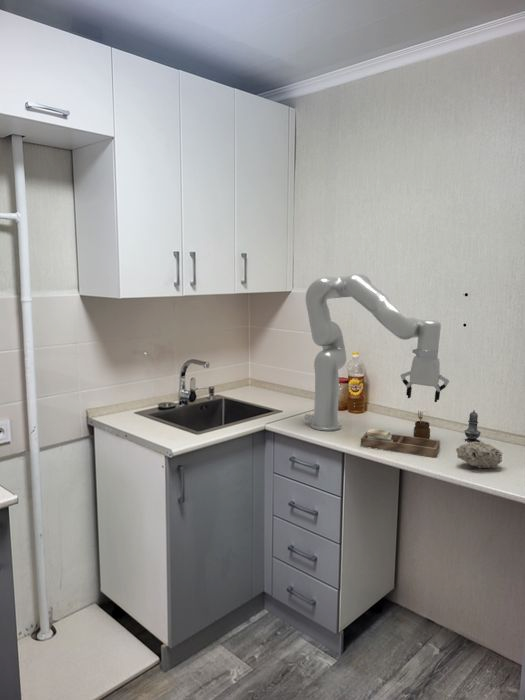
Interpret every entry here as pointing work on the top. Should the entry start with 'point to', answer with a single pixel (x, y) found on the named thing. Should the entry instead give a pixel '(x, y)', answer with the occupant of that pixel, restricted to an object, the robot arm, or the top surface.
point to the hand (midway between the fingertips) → (422, 399)
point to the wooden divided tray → (405, 445)
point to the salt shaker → (472, 428)
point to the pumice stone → (480, 455)
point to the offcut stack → (379, 435)
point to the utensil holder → (421, 428)
